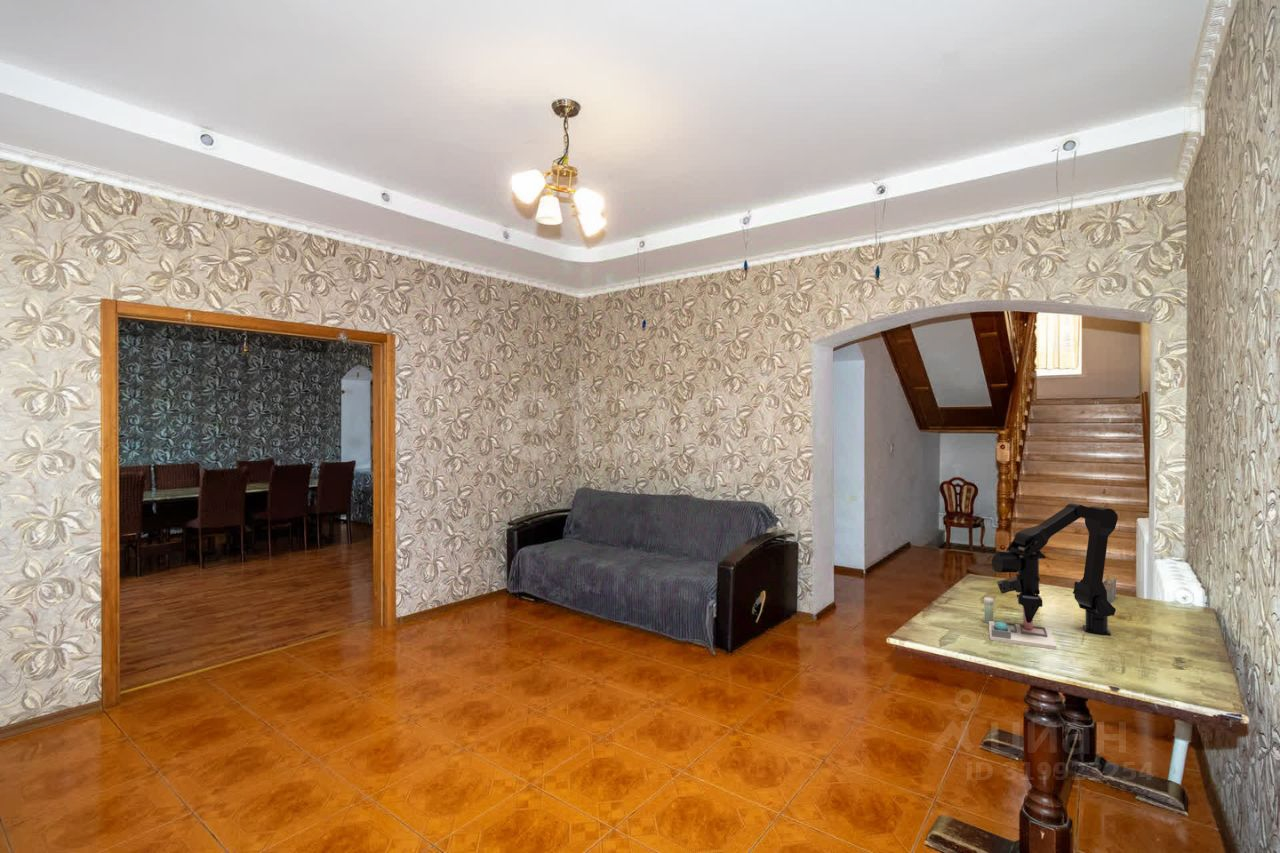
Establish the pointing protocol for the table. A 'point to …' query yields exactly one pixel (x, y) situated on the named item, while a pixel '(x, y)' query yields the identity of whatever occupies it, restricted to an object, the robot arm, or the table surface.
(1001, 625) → the button
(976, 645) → the table surface
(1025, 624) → the rose marker
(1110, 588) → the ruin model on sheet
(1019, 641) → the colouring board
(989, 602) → the sage marker
